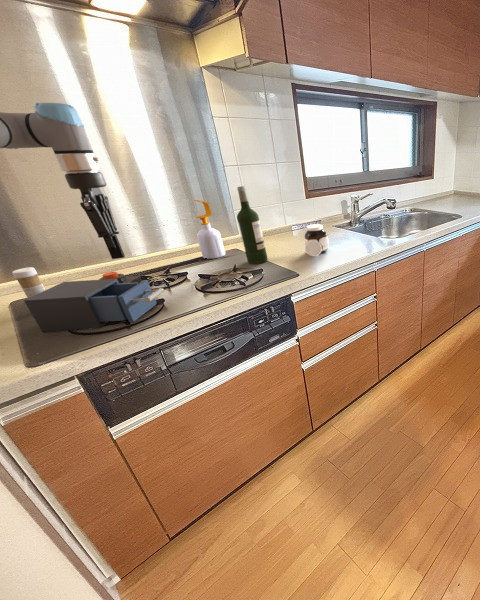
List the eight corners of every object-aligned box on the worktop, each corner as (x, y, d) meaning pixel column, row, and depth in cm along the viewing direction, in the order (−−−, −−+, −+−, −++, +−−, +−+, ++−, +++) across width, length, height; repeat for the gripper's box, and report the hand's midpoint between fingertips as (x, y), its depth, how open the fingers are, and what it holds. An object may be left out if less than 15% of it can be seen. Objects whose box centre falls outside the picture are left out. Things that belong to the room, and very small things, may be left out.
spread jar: (325, 247, 152) (322, 222, 147) (334, 253, 144) (331, 227, 139) (300, 252, 146) (296, 226, 141) (308, 258, 138) (304, 231, 133)
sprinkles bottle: (54, 305, 102) (32, 265, 96) (58, 309, 100) (35, 268, 94) (34, 311, 99) (10, 270, 93) (37, 315, 96) (12, 273, 90)
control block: (87, 294, 109) (81, 283, 108) (107, 283, 118) (103, 273, 117) (124, 292, 110) (120, 281, 109) (142, 281, 119) (138, 271, 118)
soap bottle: (199, 257, 144) (181, 200, 133) (219, 251, 150) (203, 197, 140) (209, 260, 139) (192, 201, 128) (229, 255, 146) (214, 198, 135)
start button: (101, 280, 111) (99, 276, 110) (109, 276, 114) (107, 271, 114) (113, 280, 111) (111, 275, 110) (121, 275, 115) (119, 271, 114)
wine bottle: (268, 262, 135) (251, 187, 122) (247, 265, 132) (228, 188, 119) (267, 257, 141) (251, 185, 128) (248, 259, 139) (230, 186, 126)
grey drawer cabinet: (129, 307, 100) (117, 278, 96) (100, 328, 89) (84, 296, 84) (79, 310, 99) (63, 281, 94) (42, 332, 87) (23, 300, 83)
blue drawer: (173, 302, 100) (165, 279, 97) (152, 320, 90) (141, 295, 86) (110, 306, 98) (99, 283, 95) (81, 325, 88) (67, 299, 85)
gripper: (91, 172, 81) (128, 262, 91) (108, 169, 92) (139, 250, 102) (52, 174, 78) (95, 266, 88) (74, 171, 89) (109, 253, 99)
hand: (118, 257), depth 95 cm, fingers closed
